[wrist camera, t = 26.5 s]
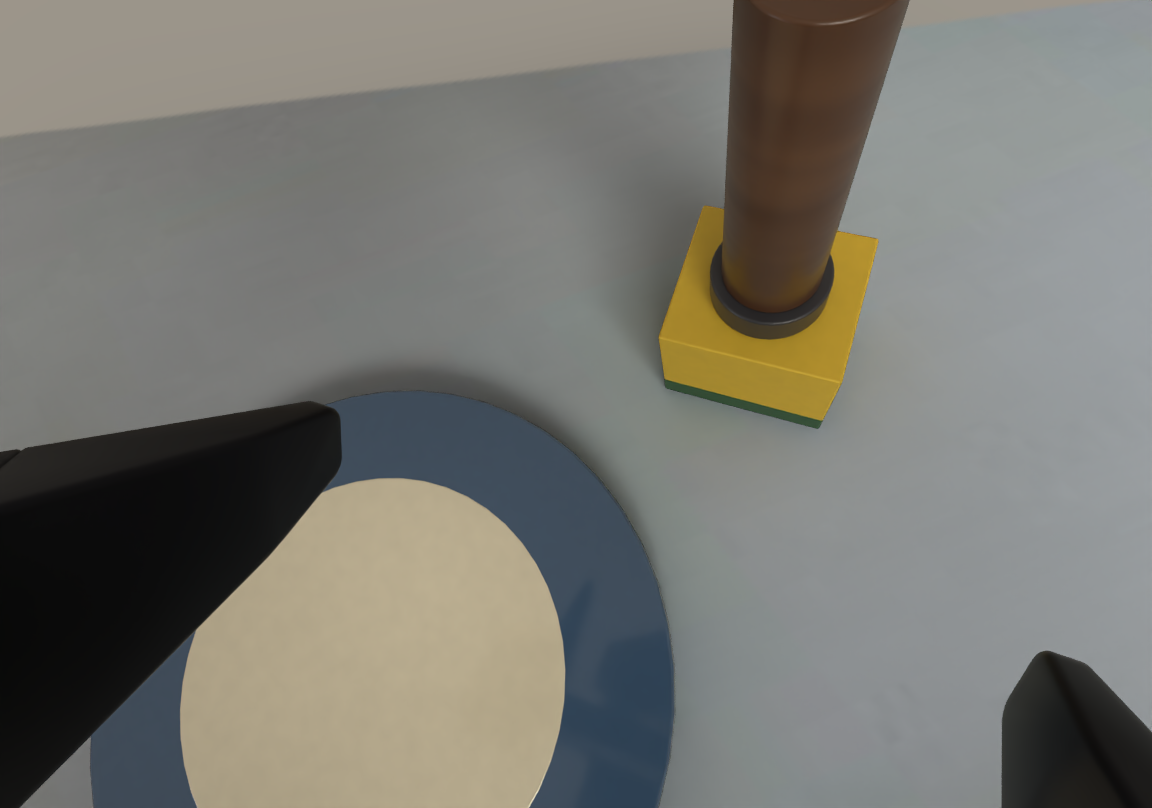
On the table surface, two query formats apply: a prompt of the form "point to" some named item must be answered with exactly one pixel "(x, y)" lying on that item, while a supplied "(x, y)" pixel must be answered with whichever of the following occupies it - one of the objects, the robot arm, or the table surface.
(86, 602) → the robot arm
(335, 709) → the plate
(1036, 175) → the table surface
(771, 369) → the sponge wand
